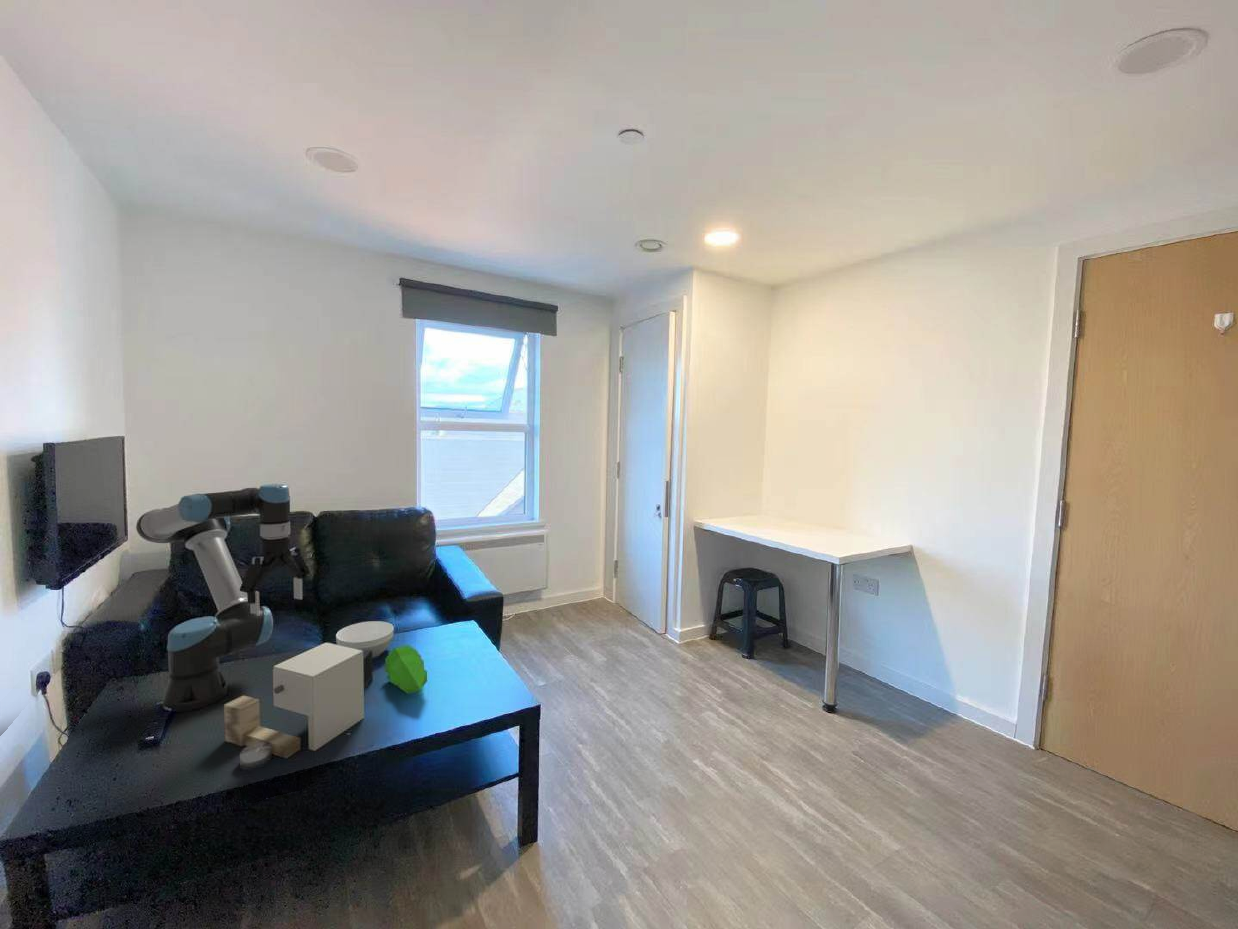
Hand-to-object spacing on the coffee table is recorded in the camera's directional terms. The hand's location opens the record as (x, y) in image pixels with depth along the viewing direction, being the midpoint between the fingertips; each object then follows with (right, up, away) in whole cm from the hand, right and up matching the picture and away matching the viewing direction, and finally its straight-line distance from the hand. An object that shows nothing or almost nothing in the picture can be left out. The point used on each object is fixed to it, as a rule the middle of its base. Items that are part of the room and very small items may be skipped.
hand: (277, 605), depth 156 cm
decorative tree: (+35, -29, +10) cm, 46 cm away
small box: (+17, -29, +11) cm, 35 cm away
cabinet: (+20, -30, -12) cm, 39 cm away
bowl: (+11, -27, +32) cm, 43 cm away
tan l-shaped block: (+10, -31, -20) cm, 38 cm away
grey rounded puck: (+12, -32, -27) cm, 43 cm away
